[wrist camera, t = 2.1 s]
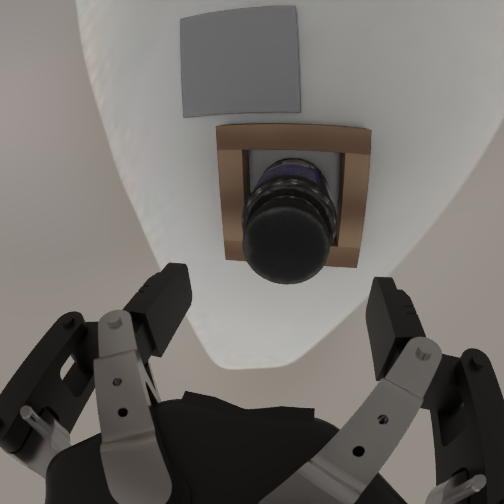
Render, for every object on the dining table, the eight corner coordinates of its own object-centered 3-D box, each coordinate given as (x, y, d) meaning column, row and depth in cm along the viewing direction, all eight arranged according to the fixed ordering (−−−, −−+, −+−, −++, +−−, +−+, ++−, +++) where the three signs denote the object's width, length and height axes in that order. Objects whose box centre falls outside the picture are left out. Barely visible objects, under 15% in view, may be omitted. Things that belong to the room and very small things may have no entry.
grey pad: (183, 21, 17) (180, 18, 17) (295, 8, 16) (295, 5, 15) (187, 117, 22) (183, 117, 22) (300, 112, 20) (300, 112, 20)
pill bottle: (246, 192, 25) (206, 249, 15) (290, 142, 22) (277, 165, 12) (297, 235, 26) (288, 312, 16) (342, 189, 23) (366, 247, 13)
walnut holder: (224, 124, 22) (215, 126, 20) (364, 128, 20) (371, 130, 18) (232, 247, 28) (225, 259, 26) (353, 254, 26) (356, 267, 23)
